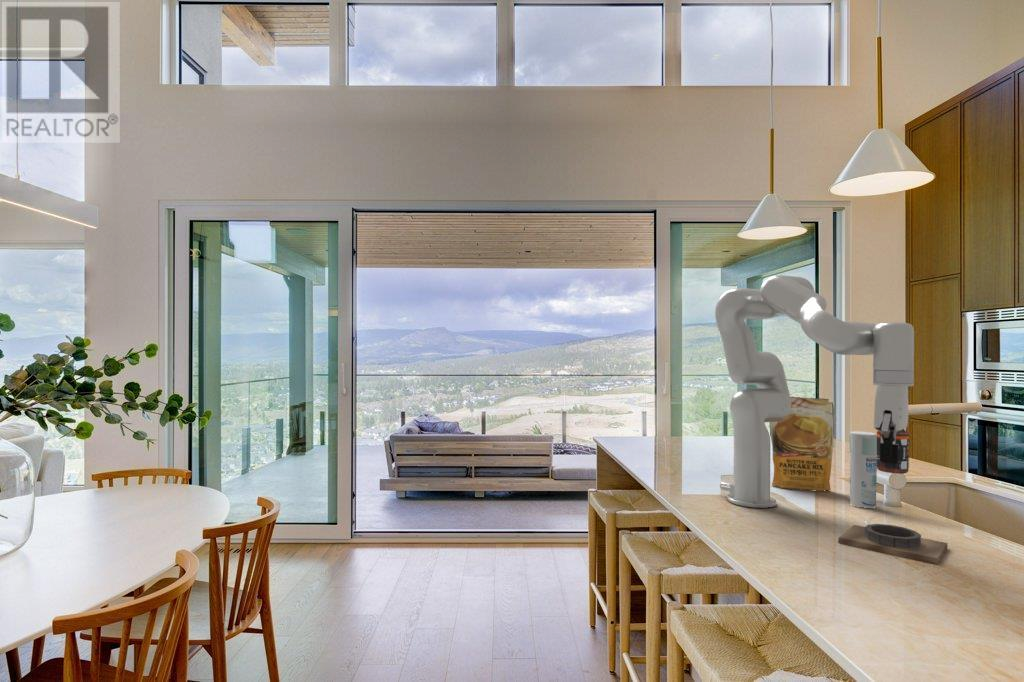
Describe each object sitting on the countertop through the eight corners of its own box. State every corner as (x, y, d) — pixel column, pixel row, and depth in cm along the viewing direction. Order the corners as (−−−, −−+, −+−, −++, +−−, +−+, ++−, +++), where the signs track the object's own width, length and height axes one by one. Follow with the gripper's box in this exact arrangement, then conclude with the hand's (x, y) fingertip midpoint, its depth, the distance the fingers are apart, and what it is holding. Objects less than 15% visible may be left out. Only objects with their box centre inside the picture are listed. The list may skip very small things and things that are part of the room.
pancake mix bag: (765, 482, 187) (766, 395, 187) (832, 488, 180) (833, 397, 181) (767, 487, 180) (768, 397, 180) (837, 493, 174) (837, 399, 174)
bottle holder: (838, 542, 130) (838, 528, 130) (853, 529, 139) (853, 516, 139) (937, 564, 117) (937, 548, 117) (947, 548, 127) (947, 533, 127)
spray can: (866, 510, 156) (866, 435, 157) (843, 503, 162) (844, 431, 162) (882, 507, 159) (882, 434, 159) (859, 501, 165) (859, 430, 165)
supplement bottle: (914, 475, 125) (914, 422, 125) (883, 473, 126) (883, 421, 126) (901, 469, 131) (901, 418, 131) (872, 467, 132) (872, 417, 132)
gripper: (882, 376, 137) (881, 453, 137) (863, 379, 125) (863, 463, 125) (920, 378, 132) (920, 457, 132) (905, 381, 120) (904, 469, 120)
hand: (892, 459), depth 128 cm, fingers closed on supplement bottle, 6 cm apart
